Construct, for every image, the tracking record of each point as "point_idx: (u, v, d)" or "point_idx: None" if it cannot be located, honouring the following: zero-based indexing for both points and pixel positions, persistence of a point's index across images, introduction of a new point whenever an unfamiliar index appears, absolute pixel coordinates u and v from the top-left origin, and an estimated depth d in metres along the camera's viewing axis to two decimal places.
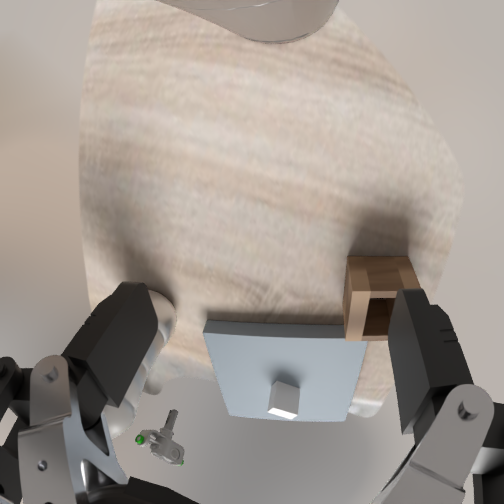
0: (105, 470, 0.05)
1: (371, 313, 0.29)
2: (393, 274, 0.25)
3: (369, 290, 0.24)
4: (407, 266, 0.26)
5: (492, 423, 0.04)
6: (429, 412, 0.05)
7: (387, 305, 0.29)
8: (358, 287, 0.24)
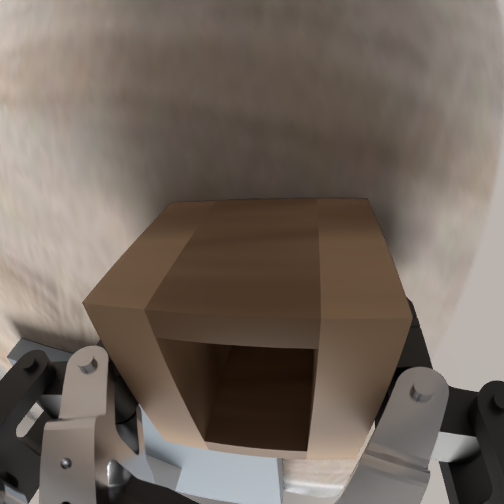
0: (132, 470, 0.05)
1: (260, 371, 0.10)
2: (290, 246, 0.07)
3: (141, 304, 0.05)
4: (358, 222, 0.07)
5: (450, 408, 0.05)
6: None
7: (313, 350, 0.10)
8: (112, 290, 0.06)
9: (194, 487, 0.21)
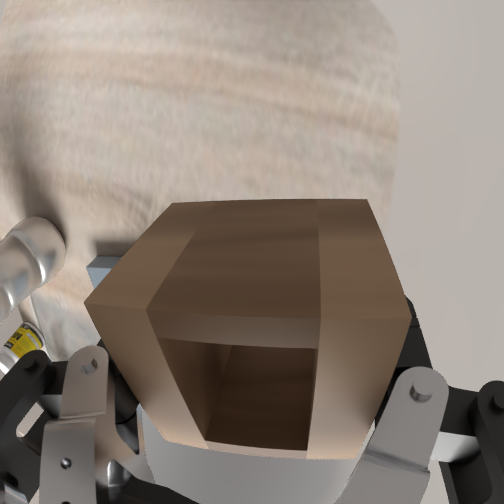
0: (132, 470, 0.05)
1: (260, 370, 0.10)
2: (290, 246, 0.07)
3: (143, 305, 0.05)
4: (358, 223, 0.07)
5: (450, 408, 0.05)
6: None
7: (313, 349, 0.10)
8: (114, 290, 0.06)
9: None
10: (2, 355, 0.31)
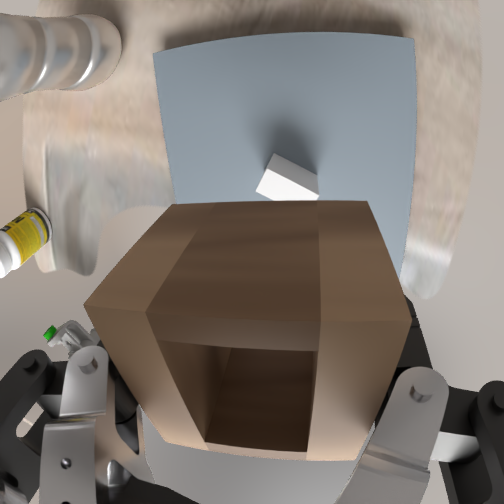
0: (132, 470, 0.05)
1: (260, 372, 0.10)
2: (290, 248, 0.07)
3: (142, 307, 0.05)
4: (358, 224, 0.07)
5: (450, 408, 0.05)
6: None
7: (313, 351, 0.10)
8: (114, 292, 0.06)
9: None
10: None
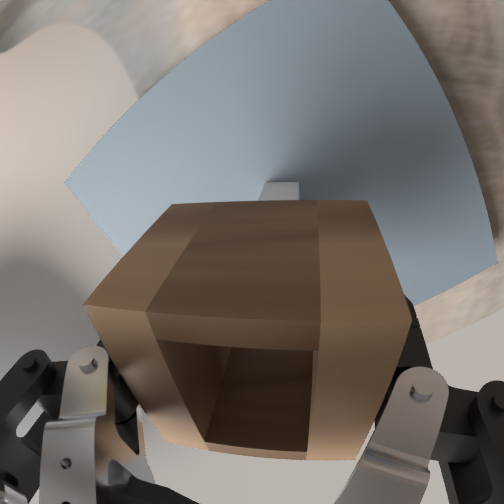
0: (132, 470, 0.05)
1: (260, 371, 0.10)
2: (290, 248, 0.07)
3: (142, 307, 0.05)
4: (358, 224, 0.07)
5: (450, 408, 0.05)
6: None
7: (313, 350, 0.10)
8: (113, 292, 0.06)
9: None
10: None
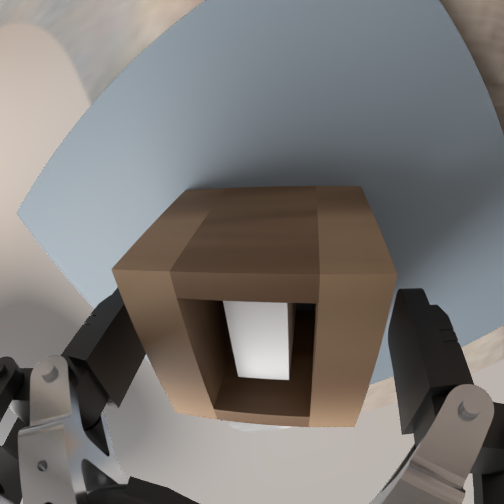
0: (105, 470, 0.05)
1: None
2: (293, 222, 0.08)
3: (167, 268, 0.06)
4: (352, 204, 0.08)
5: (492, 423, 0.04)
6: (429, 412, 0.05)
7: (313, 326, 0.12)
8: (139, 259, 0.07)
9: None
10: None
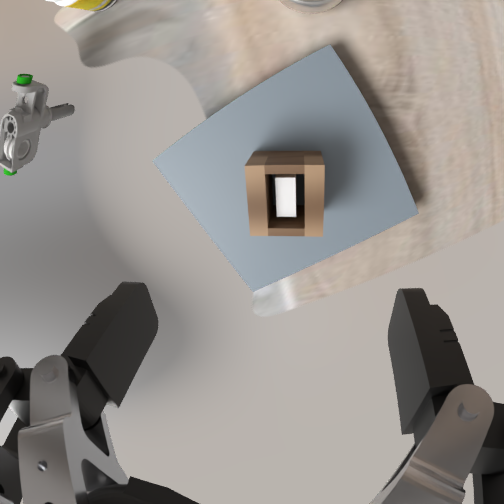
0: (105, 470, 0.05)
1: None
2: (296, 157, 0.24)
3: (263, 164, 0.23)
4: (315, 154, 0.25)
5: (492, 423, 0.04)
6: (429, 412, 0.05)
7: (304, 207, 0.28)
8: (252, 164, 0.23)
9: (243, 222, 0.31)
10: None
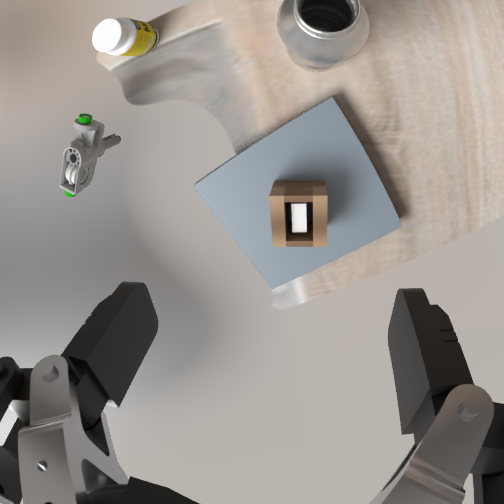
0: (105, 470, 0.05)
1: None
2: (306, 188, 0.33)
3: (282, 195, 0.32)
4: (321, 184, 0.34)
5: (492, 423, 0.04)
6: (429, 412, 0.05)
7: (312, 224, 0.37)
8: (274, 194, 0.32)
9: (265, 235, 0.40)
10: (125, 24, 0.24)
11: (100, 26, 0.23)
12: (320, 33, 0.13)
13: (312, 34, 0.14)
